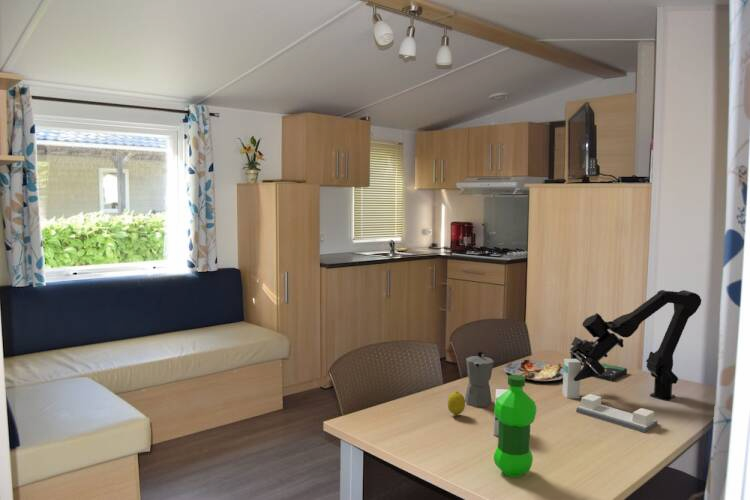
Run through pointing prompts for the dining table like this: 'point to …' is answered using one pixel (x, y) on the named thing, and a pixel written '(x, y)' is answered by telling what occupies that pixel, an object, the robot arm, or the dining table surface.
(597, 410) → the rail board
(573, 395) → the block
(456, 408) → the lemon
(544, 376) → the food plate
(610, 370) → the disk drive
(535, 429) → the dining table surface
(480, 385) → the coffeepot
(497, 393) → the ink box
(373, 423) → the dining table surface
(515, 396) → the plastic bottle
